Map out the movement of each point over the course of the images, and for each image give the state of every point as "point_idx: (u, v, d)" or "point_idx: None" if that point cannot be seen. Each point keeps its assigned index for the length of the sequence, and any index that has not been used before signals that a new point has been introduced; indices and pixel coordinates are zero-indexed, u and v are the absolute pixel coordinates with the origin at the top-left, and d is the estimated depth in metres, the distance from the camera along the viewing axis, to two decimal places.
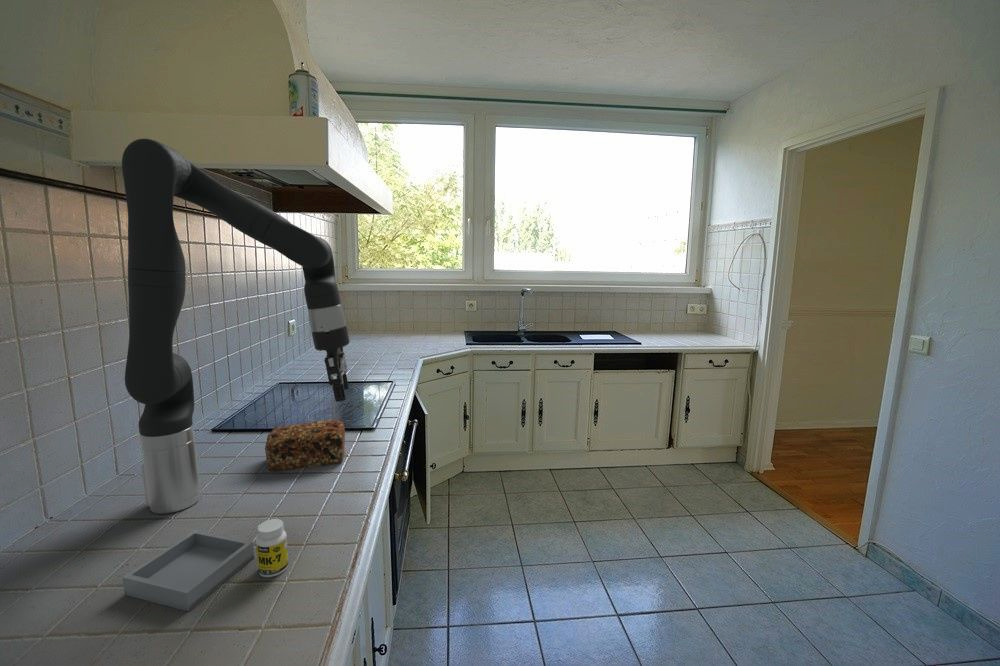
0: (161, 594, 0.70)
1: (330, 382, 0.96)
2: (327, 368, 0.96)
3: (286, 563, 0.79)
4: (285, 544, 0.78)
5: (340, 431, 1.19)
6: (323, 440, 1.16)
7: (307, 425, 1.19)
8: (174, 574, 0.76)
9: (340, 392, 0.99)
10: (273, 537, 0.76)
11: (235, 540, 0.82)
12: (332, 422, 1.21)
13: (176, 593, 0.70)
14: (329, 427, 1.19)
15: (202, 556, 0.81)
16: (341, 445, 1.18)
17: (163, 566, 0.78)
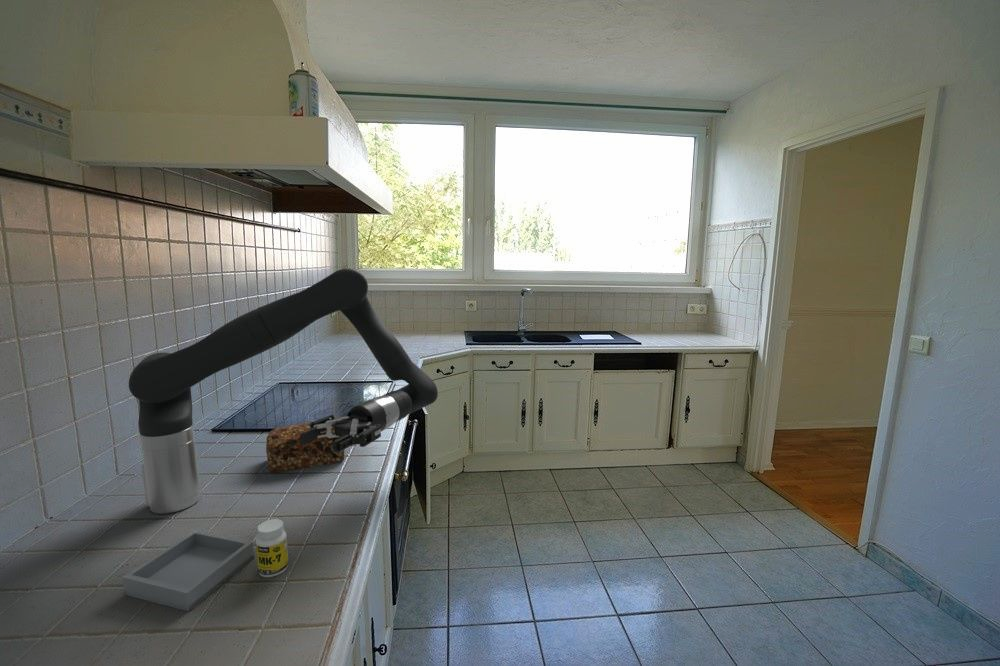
0: (161, 594, 0.70)
1: (365, 435, 0.87)
2: (375, 429, 0.90)
3: (286, 563, 0.79)
4: (285, 544, 0.78)
5: None
6: (325, 440, 1.17)
7: (307, 425, 1.19)
8: (174, 574, 0.76)
9: (347, 446, 0.86)
10: (273, 537, 0.76)
11: (235, 540, 0.82)
12: None
13: (176, 593, 0.70)
14: None
15: (202, 556, 0.81)
16: None
17: (163, 566, 0.78)
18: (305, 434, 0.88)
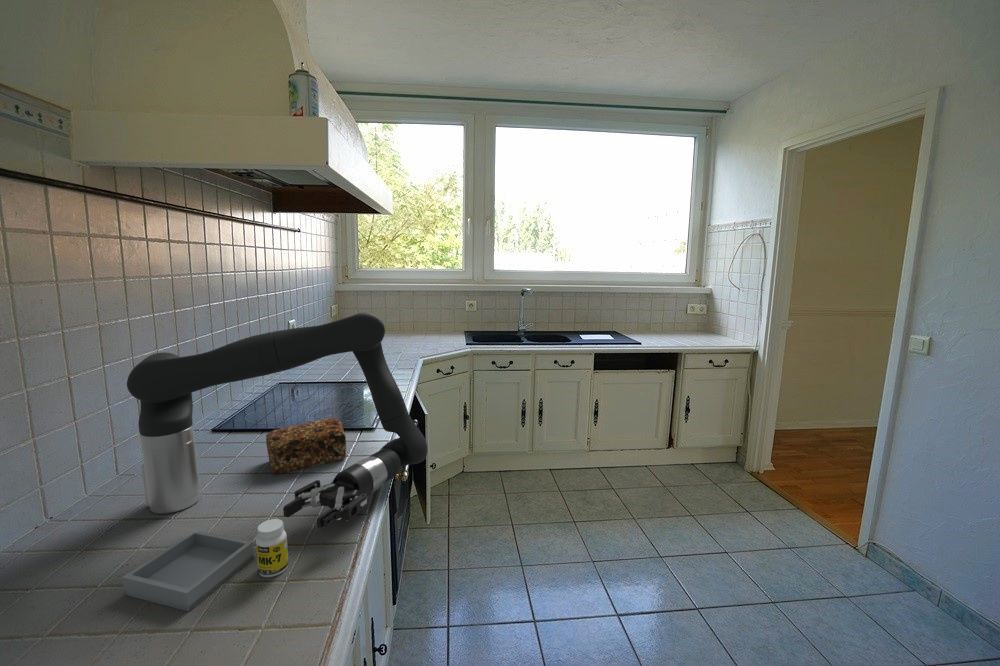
0: (161, 594, 0.70)
1: (350, 508, 0.85)
2: (361, 500, 0.88)
3: (286, 563, 0.79)
4: (285, 544, 0.78)
5: (342, 428, 1.21)
6: (328, 438, 1.17)
7: (306, 425, 1.19)
8: (174, 574, 0.76)
9: (331, 521, 0.84)
10: (273, 537, 0.76)
11: (235, 540, 0.82)
12: (331, 420, 1.22)
13: (176, 593, 0.70)
14: (330, 425, 1.20)
15: (202, 556, 0.81)
16: (345, 441, 1.20)
17: (163, 566, 0.78)
18: (289, 507, 0.86)
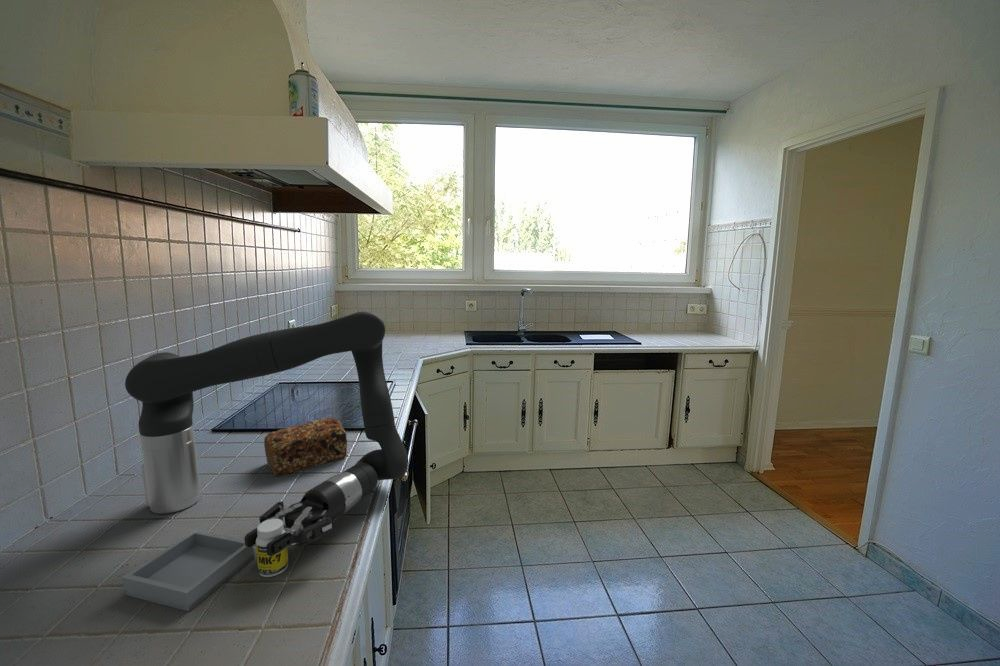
0: (161, 594, 0.70)
1: (304, 533, 0.78)
2: (321, 525, 0.80)
3: (286, 562, 0.79)
4: None
5: (342, 427, 1.22)
6: (330, 437, 1.18)
7: (306, 426, 1.19)
8: (174, 574, 0.76)
9: (283, 547, 0.76)
10: (273, 537, 0.76)
11: (235, 540, 0.82)
12: (329, 420, 1.23)
13: (176, 593, 0.70)
14: (330, 424, 1.21)
15: (202, 556, 0.81)
16: (346, 440, 1.21)
17: (163, 566, 0.78)
18: (251, 535, 0.77)
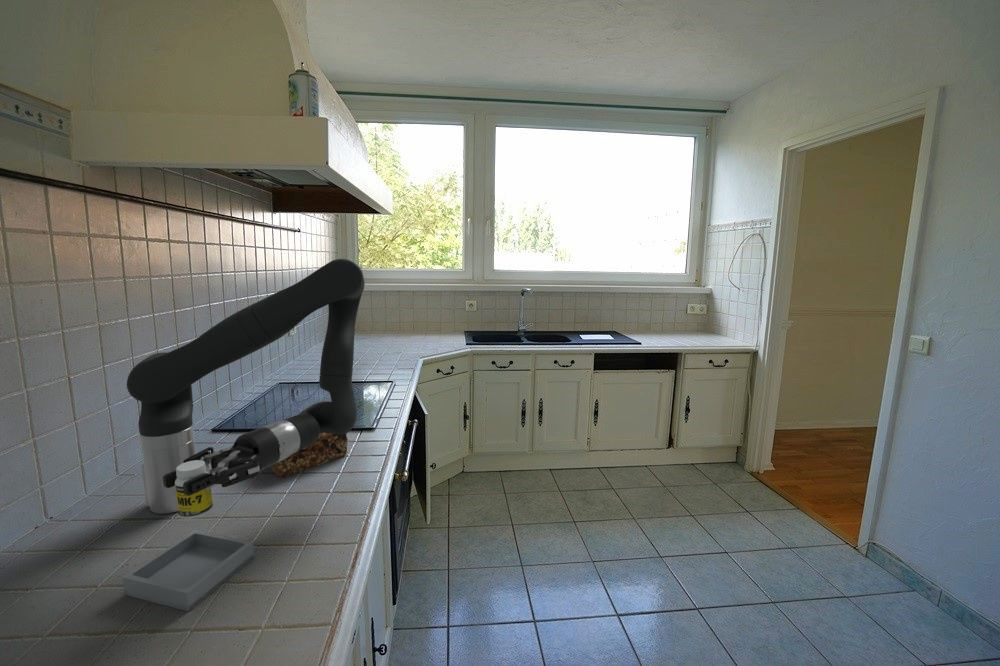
0: (161, 594, 0.70)
1: (226, 474, 0.74)
2: (247, 467, 0.76)
3: (209, 505, 0.75)
4: None
5: None
6: (331, 436, 1.19)
7: None
8: (174, 574, 0.76)
9: (203, 487, 0.72)
10: (192, 477, 0.73)
11: (235, 540, 0.82)
12: None
13: (176, 593, 0.70)
14: None
15: (202, 556, 0.81)
16: (346, 438, 1.22)
17: (163, 566, 0.78)
18: (170, 475, 0.74)
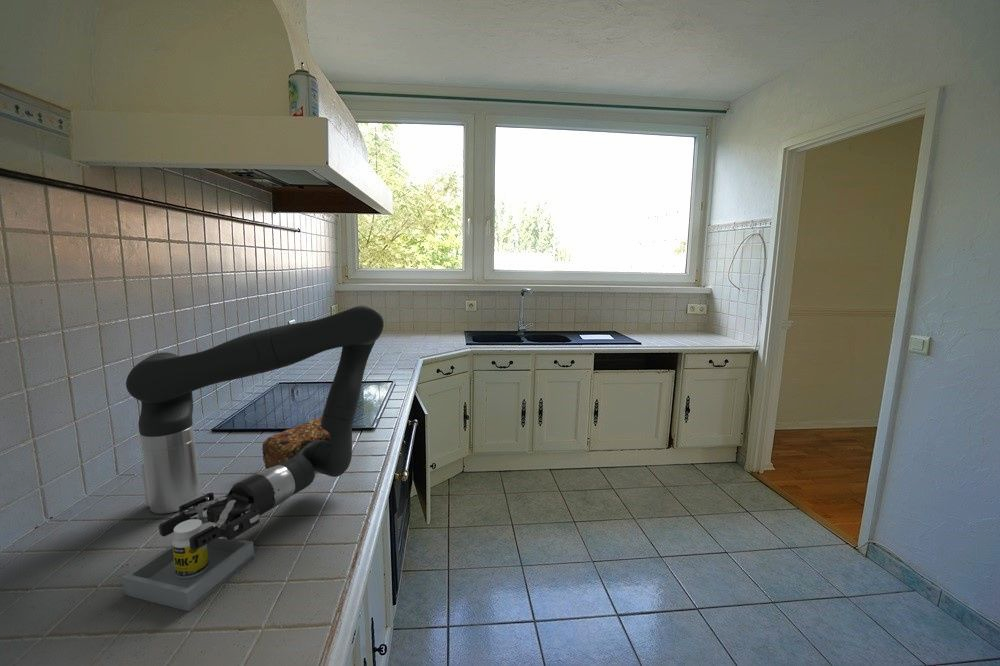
0: (161, 594, 0.70)
1: (233, 526, 0.76)
2: (249, 516, 0.79)
3: (205, 564, 0.77)
4: (204, 545, 0.77)
5: None
6: None
7: (306, 426, 1.18)
8: (174, 574, 0.76)
9: (208, 541, 0.74)
10: (189, 538, 0.75)
11: (235, 540, 0.82)
12: None
13: (176, 593, 0.70)
14: None
15: None
16: None
17: (163, 566, 0.78)
18: (166, 524, 0.76)
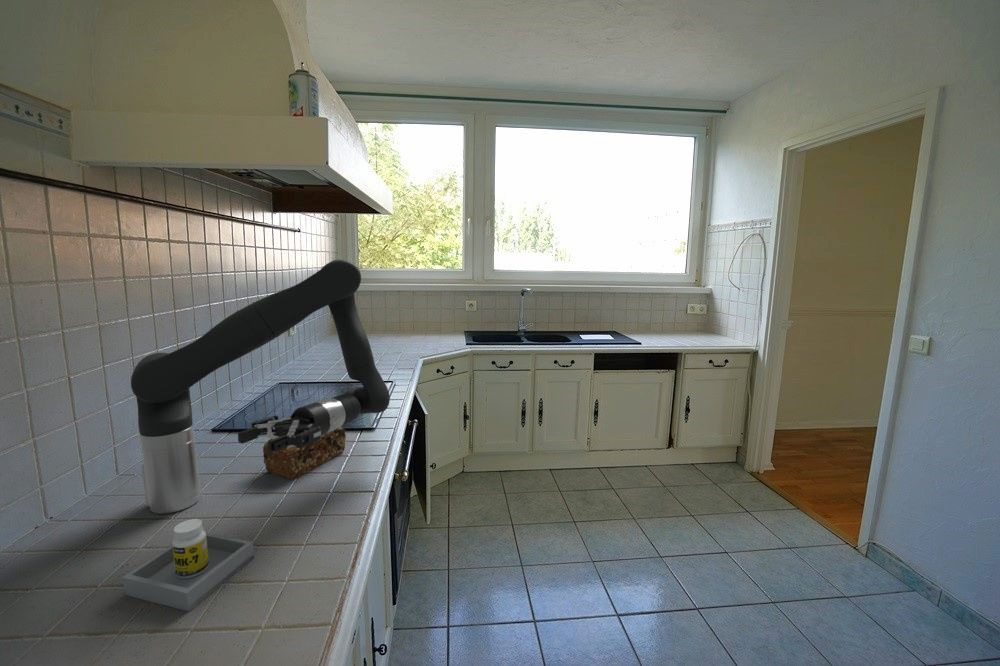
0: (161, 594, 0.70)
1: (302, 436, 0.89)
2: (313, 431, 0.92)
3: (205, 564, 0.77)
4: (204, 545, 0.77)
5: None
6: (333, 433, 1.21)
7: None
8: (174, 574, 0.76)
9: (282, 446, 0.87)
10: (189, 538, 0.75)
11: (235, 540, 0.82)
12: None
13: (176, 593, 0.70)
14: None
15: None
16: (344, 434, 1.25)
17: (163, 566, 0.78)
18: (243, 433, 0.90)
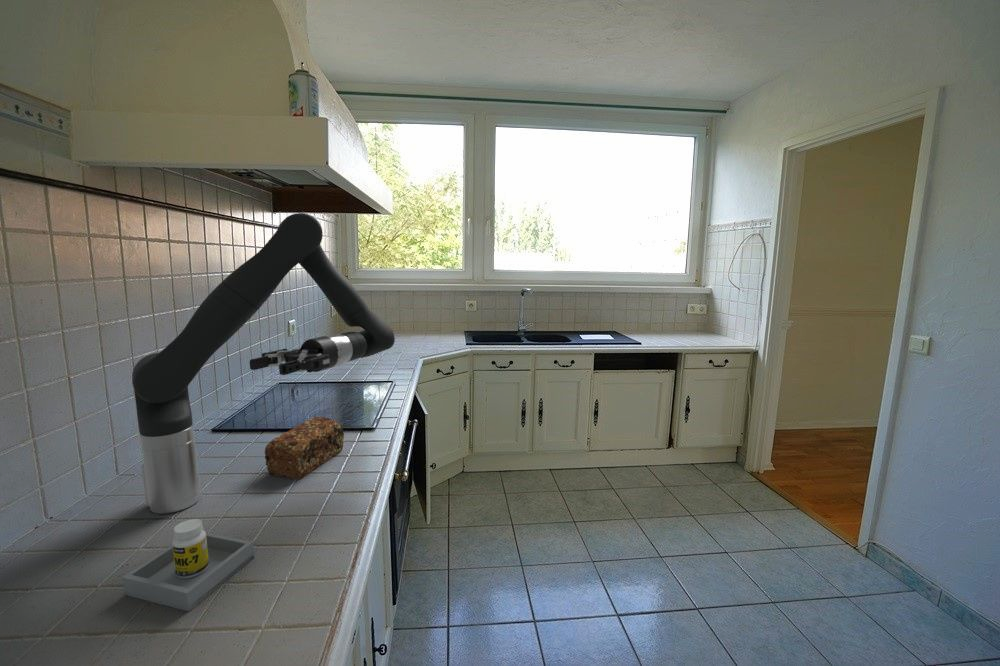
0: (161, 594, 0.70)
1: (312, 361, 0.91)
2: (323, 357, 0.94)
3: (205, 564, 0.77)
4: (204, 545, 0.77)
5: (335, 422, 1.25)
6: (333, 432, 1.21)
7: (306, 427, 1.18)
8: (174, 574, 0.76)
9: (293, 370, 0.90)
10: (189, 538, 0.75)
11: (235, 540, 0.82)
12: (320, 418, 1.24)
13: (176, 593, 0.70)
14: (327, 421, 1.23)
15: None
16: (343, 433, 1.26)
17: (163, 566, 0.78)
18: (255, 360, 0.92)
